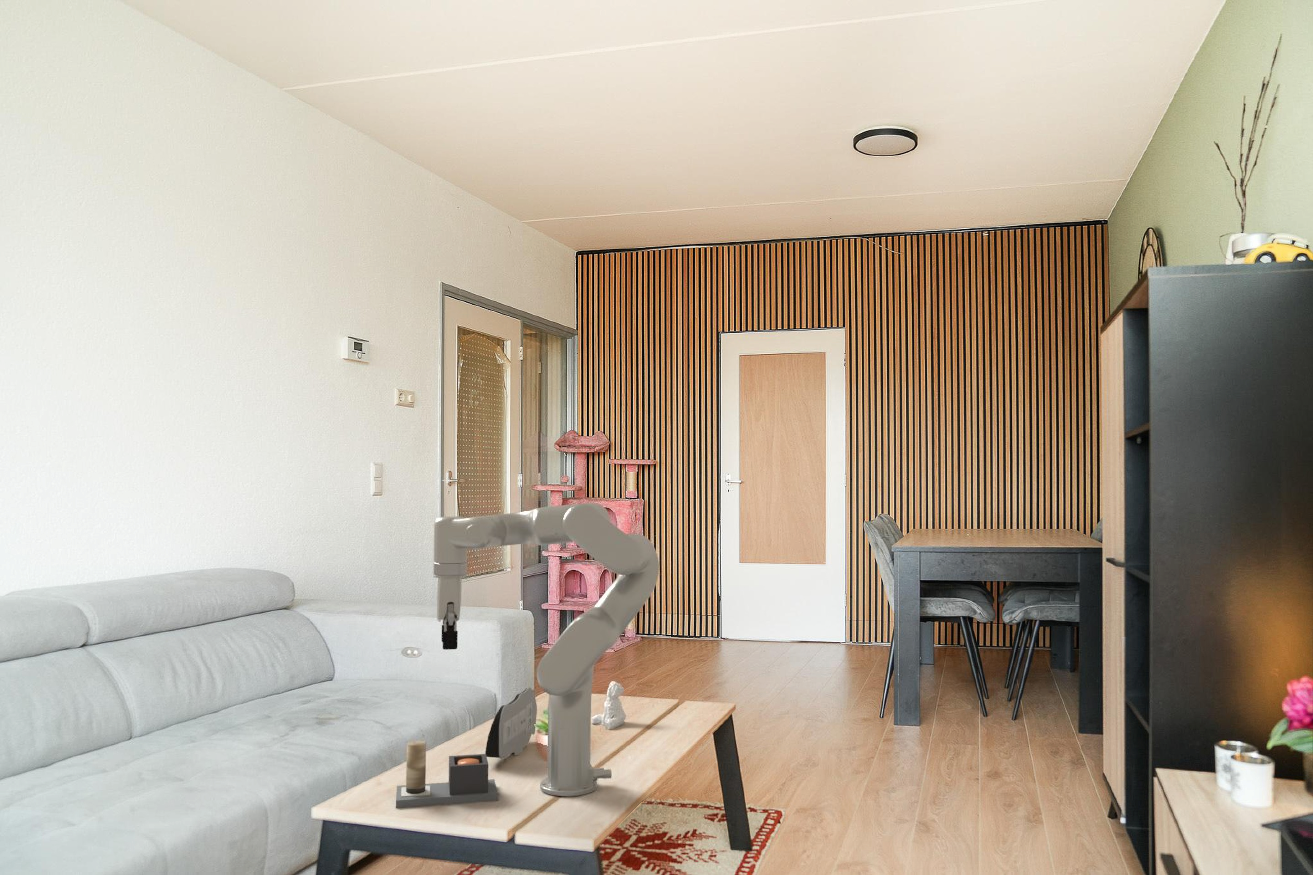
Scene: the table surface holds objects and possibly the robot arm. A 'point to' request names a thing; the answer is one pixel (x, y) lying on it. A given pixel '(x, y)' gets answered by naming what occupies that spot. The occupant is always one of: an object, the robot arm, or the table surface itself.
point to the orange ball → (468, 761)
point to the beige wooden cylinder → (416, 767)
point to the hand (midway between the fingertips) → (449, 645)
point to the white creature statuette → (611, 709)
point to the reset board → (454, 786)
